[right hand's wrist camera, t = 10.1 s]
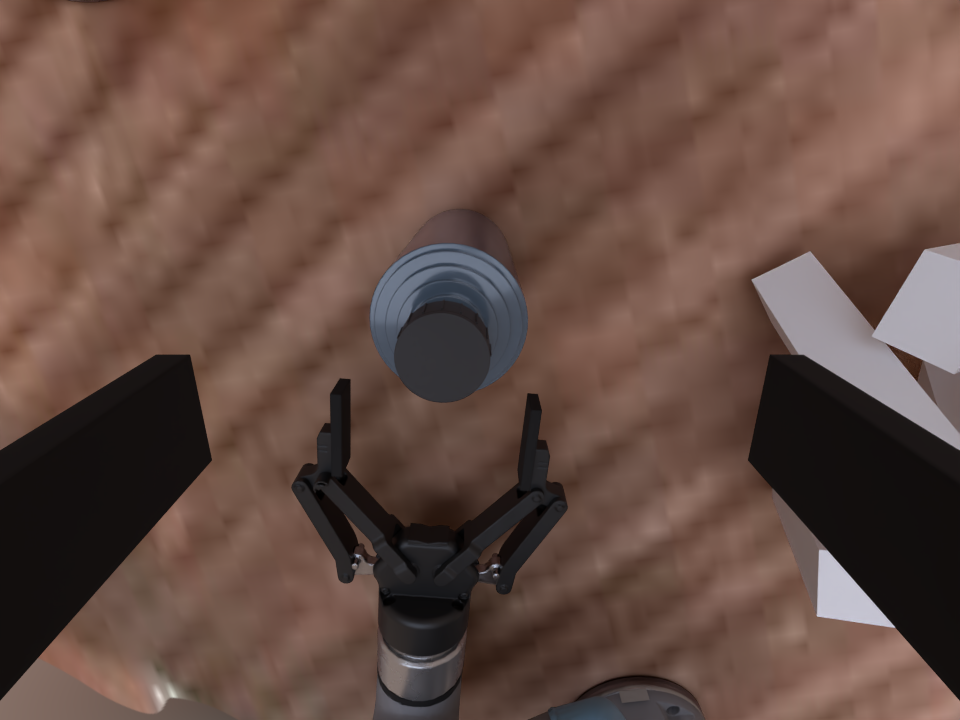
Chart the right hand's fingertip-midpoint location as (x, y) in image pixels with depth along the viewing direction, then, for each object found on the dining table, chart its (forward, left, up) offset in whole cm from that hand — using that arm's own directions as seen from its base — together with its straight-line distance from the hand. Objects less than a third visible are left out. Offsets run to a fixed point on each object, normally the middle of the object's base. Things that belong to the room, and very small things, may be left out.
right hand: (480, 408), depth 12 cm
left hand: (-3, -10, -23) cm, 25 cm away
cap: (-1, -2, -9) cm, 9 cm away
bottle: (-1, -2, -29) cm, 29 cm away
